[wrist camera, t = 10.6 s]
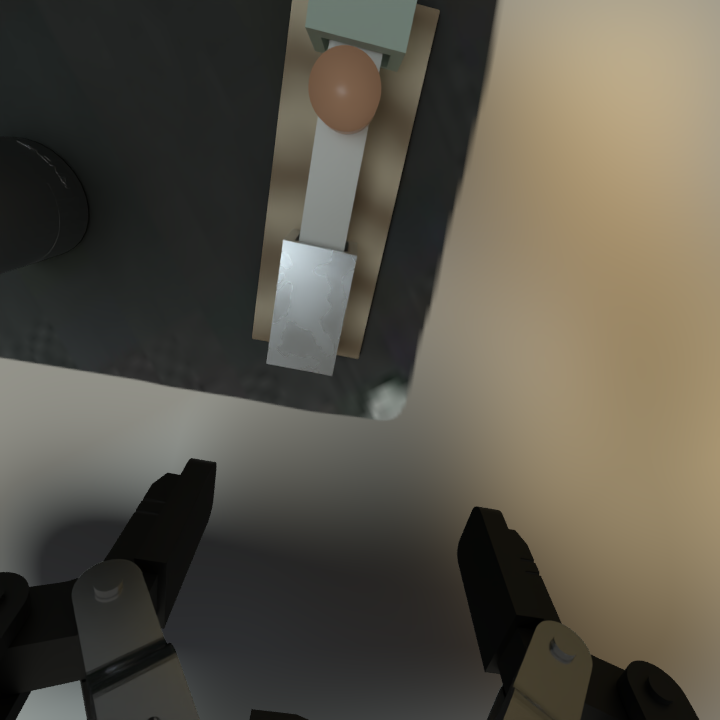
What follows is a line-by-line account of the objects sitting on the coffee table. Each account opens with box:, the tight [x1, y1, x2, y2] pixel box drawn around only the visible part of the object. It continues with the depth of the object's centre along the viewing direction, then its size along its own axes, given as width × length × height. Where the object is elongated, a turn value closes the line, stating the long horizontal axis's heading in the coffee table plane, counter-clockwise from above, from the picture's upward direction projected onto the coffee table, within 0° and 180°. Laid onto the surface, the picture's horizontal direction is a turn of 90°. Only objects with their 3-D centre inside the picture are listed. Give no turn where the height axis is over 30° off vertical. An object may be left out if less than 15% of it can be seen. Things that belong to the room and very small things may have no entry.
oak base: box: [252, 0, 440, 359], centre depth 36 cm, size 27×10×1 cm, turn 168°
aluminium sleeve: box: [266, 229, 357, 376], centre depth 36 cm, size 10×5×5 cm, turn 168°
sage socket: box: [305, 0, 417, 72], centre depth 28 cm, size 4×6×6 cm, turn 78°
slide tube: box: [299, 40, 383, 251], centre depth 29 cm, size 17×4×8 cm, turn 168°
